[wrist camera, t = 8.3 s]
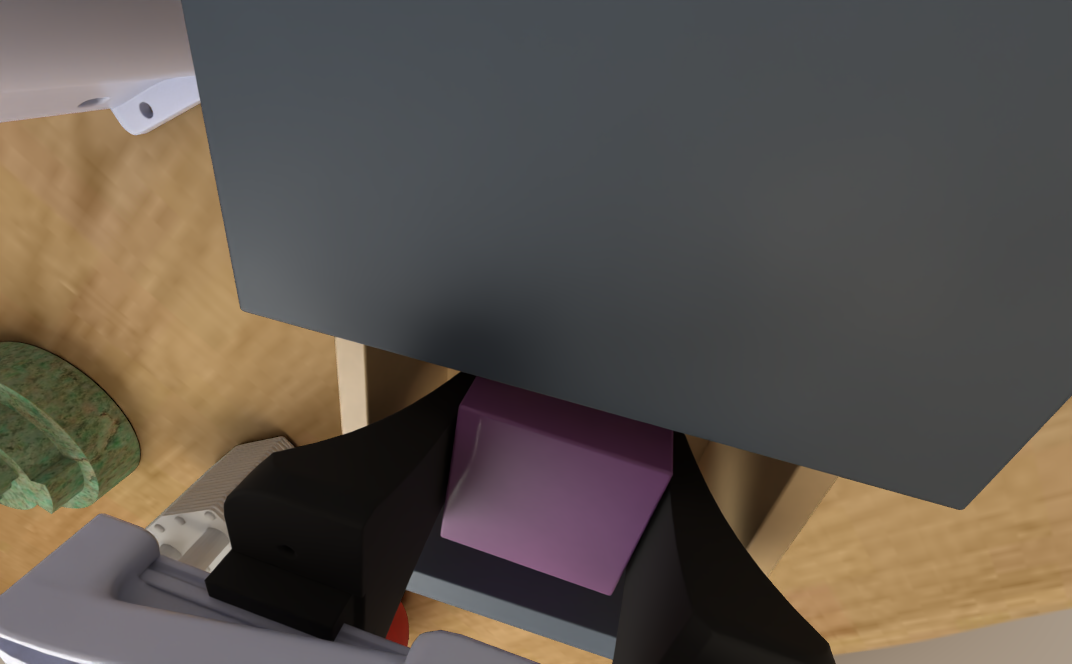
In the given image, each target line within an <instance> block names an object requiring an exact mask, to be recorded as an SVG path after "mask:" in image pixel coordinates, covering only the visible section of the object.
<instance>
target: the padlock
mask: <svg viewBox="0 0 1072 664" xmlns="http://www.w3.org/2000/svg"><path fill="white" fill-rule="evenodd" d="M291 448H295V447H294V446H293V445H292V444H291V443H290V442H289V441H288V440H287V439H286V438H285V437H283V436H280V437H275V438H271V439H266V440H261V441H256V442H251V443H247V444H242V445H237V446H235V447H234V448H233V449H232V450H231V451H229V452H228V453H227V454H226V455H225V456H224V457H222V458H221V459H220V460H219V461H218V462H217V463H215V464H214V465H213V466H212V467H211V468H210V469H209V470H208V471H206V472H205V473H204V474H203V475H202V476H201V477H200V478H199V479H198V480H197V481H196V482H195V483H194V484H192V485H191V486H190V487H189V488H188V489H187V490H186V491H185V492H184V493H183V494H182V495H181V496H179V498H177V499H176V500H175V501H174V502H173V503H172V504H171V505H170V506H169V507H168V508H167V509H165V511H163V512H162V513H161V514H160V515H159V516H158V517H157V518H156V519H155V520H154V521H153V522H151V523H150V524H149V525H148V526H147V527H146V528H145V529H146V530H148V531H149V532H150V533H151V534H153V535H154V536H155V538H156V539H157V541H158V543H159V548H160V554H162V555H164V556H167V557H170V558H172V559H175V560H177V561H180V562H183V563H185V564H188V565H191V566H193V567H196V568H199V569H201V570H204V571H207V572H212V571H213V570H214V569H215V567H216V566H217V565H218V564H219V563H220V562H221V561H222V559H223V558H224V557H225V556H226V555H227V554H228V553H229V551H230V550H231V549H232V548H231V543H230V539H229V535H228V531H227V526H226V522H225V518H224V505H223V504H224V502H225V500H226V497H227V496H228V495H229V494H230V493H231V492H232V491H233V490H234V489H235V488H236V487H237V486H238V485H239V484H240V483H241V482H242V481H243V479H244V478H245V477H246V476H247V475H248V474H249V473H250V472H251V471H252V470H253V469H254V468H255V467H257V466H258V465H259V464H260V463H261V462H262V461H263V460H265V459H266V458H267V457H268V456H269V455H271V454H272V453H273V452H277V451H282V450H287V449H291Z"/></svg>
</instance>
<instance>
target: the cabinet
mask: <svg viewBox="0 0 1072 664" xmlns="http://www.w3.org/2000/svg"><path fill="white" fill-rule="evenodd" d="M181 4H182V9H183V14H184V19H185V25H186V30H187V35H188V40H189V45H190V50H191V56H192V61H193V66H194V71H195V76H196V81H197V87H198V92H199V97H200V102H201V107H202V112H203V118H204V123H205V128H206V133H207V138H208V143H209V149H210V154H211V159H212V164H213V169H214V174H215V180H216V185H217V190H218V195H219V200H220V206H221V211H222V216H223V221H224V226H225V231H226V237H227V242H228V247H229V252H230V257H231V262H232V268H233V273H234V278H235V283H236V288H237V293H238V299H239V304H240V308H241V310H242V311H245V312H248V313H252V314H255V315H259V316H263V317H266V318H270V319H273V320H277V321H281V322H284V323H288V324H291V325H295V326H299V327H302V328H306V329H309V330H313V331H317V332H320V333H324V334H327V335H331V336H335V337H338V338H342V339H345V340H349V341H353V342H356V343H360V344H364V345H367V346H371V347H374V348H378V349H382V350H385V351H389V352H392V353H396V354H400V355H403V356H407V357H410V358H414V359H418V360H421V361H425V362H428V363H432V364H436V365H439V366H443V367H446V368H450V369H454V370H457V371H461V372H464V373H468V374H472V375H475V376H479V377H482V378H486V379H490V380H493V381H497V382H500V383H504V384H508V385H511V386H515V387H518V388H522V389H526V390H529V391H533V392H536V393H540V394H544V395H547V396H551V397H554V398H558V399H562V400H565V401H569V402H572V403H576V404H580V405H583V406H587V407H590V408H594V409H598V410H601V411H605V412H608V413H612V414H616V415H619V416H623V417H626V418H630V419H634V420H637V421H641V422H644V423H648V424H652V425H655V426H659V427H662V428H666V429H670V430H673V431H677V432H680V433H684V434H688V435H691V436H695V437H698V438H702V439H706V440H709V441H713V442H716V443H720V444H724V445H727V446H731V447H734V448H738V449H742V450H745V451H749V452H752V453H756V454H760V455H763V456H767V457H770V458H774V459H778V460H781V461H785V462H788V463H792V464H796V465H799V466H803V467H806V468H810V469H814V470H817V471H821V472H824V473H828V474H832V475H835V476H839V477H843V478H846V479H850V480H853V481H857V482H861V483H864V484H868V485H871V486H875V487H879V488H882V489H886V490H889V491H893V492H897V493H900V494H904V495H907V496H911V497H915V498H918V499H922V500H925V501H929V502H933V503H936V504H940V505H943V506H947V507H951V508H954V509H958V510H962V509H965V507H966V506H967V505H968V504H969V503H970V502H971V501H972V500H973V499H974V498H975V497H976V496H977V495H978V494H979V493H980V492H981V491H982V490H983V489H984V487H985V486H986V485H987V484H988V483H989V482H990V481H991V480H992V479H993V478H994V477H995V476H996V475H997V474H998V473H999V472H1000V471H1001V470H1002V469H1003V467H1004V466H1005V465H1006V464H1007V463H1008V462H1009V461H1010V460H1011V459H1012V458H1013V457H1014V456H1015V455H1016V454H1017V453H1018V452H1019V451H1020V450H1021V449H1022V447H1023V446H1024V445H1025V444H1026V443H1027V442H1028V441H1029V440H1030V439H1031V438H1032V437H1033V436H1034V435H1035V434H1036V433H1037V432H1038V431H1039V430H1040V429H1041V427H1042V426H1043V425H1044V424H1045V423H1046V422H1047V421H1048V420H1049V419H1050V418H1051V417H1052V416H1053V415H1054V414H1055V413H1056V412H1057V411H1058V410H1059V409H1060V407H1061V406H1062V405H1063V404H1064V403H1065V402H1066V401H1067V400H1068V399H1069V398H1070V397H1071V396H1072V0H181Z"/></svg>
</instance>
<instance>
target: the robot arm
mask: <svg viewBox="0 0 1072 664" xmlns="http://www.w3.org/2000/svg"><path fill="white" fill-rule="evenodd" d="M200 103H201V102H200V97H199V92H198V87H197V81H196V76H195V71H194V66H193V61H192V56H191V50H190V45H189V40H188V35H187V30H186V25H185V19H184V14H183V9H182V4H181V0H0V122H8V121H15V120H23V119H31V118H39V117H47V116H55V115H62V114H70V113H78V112H86V111H94V110H101V109H109V108H110V109H111V110H112V112H113V113H114V115H115V116H116V118H117V119H118V121H119V122H120V124H121V125H122V126H123V128H124V129H125V130H126V131H128V132H129V133H131V134H133V135H139V134H145V133H148V132H150V131H152V130H153V129H155V128H157V127H159V126H160V125H162V124H164V123H166V122H168V121H169V120H171V119H173V118H175V117H177V116H178V115H180V114H182V113H184V112H186V111H187V110H189V109H191V108H193V107H194V106H196V105H198V104H200ZM150 107H151V108H152V111H153V113H152V112H151V109H150ZM475 378H476V376H475V375H472V374H468V373H464V372H461V371H460V372H459V373H458V374H456V375H455V376H454V377H452V378H451V379H450V380H448V381H447V382H445V383H444V384H442V385H441V386H440V387H438V388H437V389H435V390H434V391H432V392H431V393H429V394H427V395H426V396H424V397H422V398H421V399H419V400H417V401H416V402H414V403H412V404H411V405H409V406H407V407H405V408H403V409H402V410H400V411H398V412H396V413H394V414H392V415H390V416H388V417H386V418H384V419H381V420H379V421H377V422H374V423H372V424H370V425H367V426H365V427H362V428H360V429H357V430H355V431H352V432H349V433H346V434H343V435H340V436H337V437H334V438H331V439H327V440H324V441H320V442H317V443H313V444H309V445H304V446H300V447H296V448H291V449H287V450H282V451H277V452H273V453H272V454H271V455H269V456H268V457H267V458H266V459H265V460H263V461H262V462H261V463H260V464H259V465H258V466H257V467H255V468H254V469H253V470H252V471H251V472H250V473H249V474H248V475H247V476H246V477H245V478H244V479H243V481H242V482H241V483H240V484H239V485H238V486H237V487H236V488H235V489H234V490H233V491H232V492H231V493H230V494H229V495H228V496H227V497H226V500H225V502H224V504H223V505H224V518H225V522H226V526H227V531H228V535H229V539H230V543H231V548H232V549H231V550H230V551H229V553H228V554H227V555H226V556H225V557H224V558H223V559H222V561H221V562H220V563H219V564H218V565H217V566H216V567H215V569H214V570H213V571H212V572H211V573H209V572H207V571H204V570H201V569H199V568H196V567H193V566H191V565H188V564H185V563H183V562H180V561H177V560H175V559H172V558H170V557H167V556H164V555H162V554H160V548H159V543H158V541H157V539H156V538H155V536H154V535H153V534H151V533H150V532H149V531H148V530H146V529H144V528H142V527H140V526H137V525H134V524H132V523H129V522H126V521H123V520H121V519H118V518H115V517H113V516H110V515H107V514H98V515H97V516H96V517H95V518H93V519H92V520H91V521H90V522H89V523H87V524H86V525H85V526H84V527H82V528H81V529H80V530H79V531H78V532H76V533H75V534H74V535H73V536H72V537H70V538H69V539H68V540H67V541H66V542H64V543H63V544H62V545H61V546H59V547H58V548H57V549H56V550H55V551H53V552H52V553H51V554H50V555H49V556H47V557H46V558H45V559H44V560H43V561H41V562H40V563H39V564H38V565H36V566H35V567H34V568H33V569H32V570H30V571H29V572H28V573H27V574H26V575H24V576H23V577H22V578H21V579H20V580H18V581H17V582H16V583H15V584H13V585H12V586H11V587H10V588H9V589H7V590H6V591H5V592H4V593H3V594H1V595H0V657H1V659H2V660H3V661H4V662H5V663H6V664H540V663H537V662H534V661H532V660H529V659H526V658H524V657H521V656H518V655H515V654H513V653H510V652H507V651H505V650H502V649H499V648H497V647H494V646H491V645H488V644H486V643H483V642H480V641H478V640H475V639H472V638H469V637H467V636H464V635H461V634H457V633H452V632H448V631H443V630H438V631H431V632H425V633H422V634H420V635H419V636H418V637H417V639H416V640H415V641H414V643H413V644H412V646H411V648H409V647H406V646H403V645H401V644H398V643H395V642H393V641H390V640H387V639H385V638H386V636H387V633H388V631H389V629H390V626H391V624H392V621H393V619H394V616H395V614H396V611H397V609H398V607H399V604H400V602H401V599H402V597H403V595H404V592H405V590H406V588H407V585H408V583H409V580H410V578H411V576H412V573H413V571H414V569H415V566H416V564H417V562H418V560H419V557H420V555H421V553H422V550H423V548H424V546H425V543H426V541H427V539H428V537H429V534H430V532H431V530H432V528H433V526H434V523H435V521H436V519H437V517H438V515H439V513H440V511H441V509H442V507H443V505H444V503H445V498H446V492H447V485H448V478H449V471H450V464H451V457H452V450H453V444H454V437H455V430H456V423H457V416H458V409H459V405H460V403H461V402H462V400H463V398H464V397H465V395H466V393H467V392H468V390H469V388H470V386H471V385H472V383H473V381H474V380H475ZM612 664H836V663H835V660H834V658H833V655H832V652H831V649H830V646H829V643H828V642H827V641H826V640H825V639H824V638H823V637H822V636H821V635H820V634H819V633H818V632H817V631H816V630H815V629H814V628H813V627H812V626H811V625H810V624H809V623H808V622H807V621H806V620H805V619H804V618H803V617H802V616H801V615H800V614H799V613H798V612H797V611H796V610H795V609H794V607H793V606H792V605H791V604H790V603H789V602H788V601H787V600H786V598H785V597H784V596H783V595H782V594H781V593H780V592H779V590H778V589H777V588H776V587H775V586H774V585H773V584H772V582H771V581H770V580H769V579H768V577H767V576H766V575H765V574H764V573H763V571H762V570H761V569H760V567H759V566H758V565H757V563H756V562H755V561H754V559H753V558H752V557H751V555H750V554H749V553H748V551H747V550H746V549H745V547H744V546H743V545H742V543H741V542H740V540H739V539H738V537H737V536H736V534H735V533H734V531H733V530H732V528H731V527H730V525H729V523H728V522H727V520H726V519H725V517H724V515H723V514H722V512H721V510H720V508H719V507H718V505H717V503H716V501H715V499H714V497H713V496H712V494H711V492H710V490H709V488H708V486H707V484H706V482H705V480H704V477H703V475H702V473H701V471H700V469H699V467H698V464H697V462H696V460H695V458H694V455H693V453H692V450H691V448H690V445H689V443H688V440H687V438H686V435H685V434H684V433H680V432H677V431H673V475H672V477H671V479H670V481H669V483H668V485H667V487H666V489H665V491H664V493H663V495H662V497H661V499H660V501H659V503H658V505H657V507H656V509H655V511H654V513H653V515H652V517H651V519H650V521H649V523H648V525H647V527H646V529H645V531H644V532H643V534H642V536H641V538H640V540H639V542H638V544H637V546H636V548H635V550H634V552H633V554H632V556H631V558H630V560H629V562H628V564H627V566H626V575H625V585H624V592H623V598H622V605H621V612H620V619H619V625H618V632H617V638H616V644H615V651H614V657H613V663H612Z"/></svg>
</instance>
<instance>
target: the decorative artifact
mask: <svg viewBox="0 0 1072 664" xmlns="http://www.w3.org/2000/svg"><path fill="white" fill-rule="evenodd" d="M139 461H140V448H139V443H138V440H137V437H136V435H135V433H134V431H133V429H132V427H131V425H130V423H129V422H128V420H127V418H126V417H125V416H124V414H123V413H122V411H121V410H120V409H119V408H118V406H117V405H116V404H115V403H114V402H113V400H112V399H111V398H110V397H109V396H108V395H107V394H106V393H105V392H104V391H103V390H102V389H101V388H100V387H99V386H98V385H97V384H95V383H94V382H93V381H92V380H91V379H90V378H88V377H87V376H86V375H85V374H83V373H82V372H81V371H79V370H78V369H76V368H75V367H74V366H72V365H70V364H69V363H67V362H66V361H64V360H62V359H61V358H59V357H57V356H55V355H53V354H51V353H49V352H47V351H45V350H43V349H40V348H37V347H35V346H32V345H28V344H24V343H19V342H1V343H0V504H2V505H5V506H8V507H11V508H15V509H21V510H27V509H31V508H33V507H35V506H36V505H39V506H40V507H42V508H43V509H45V510H46V511H48V512H49V513H51V514H52V513H53V512H55V511H56V510H57V509H59V508H60V507H66V508H84V507H88V506H90V505H92V504H93V503H94V502H96V501H97V500H98V499H99V498H101V497H102V496H103V495H104V494H106V493H107V492H108V491H109V490H111V489H112V488H113V487H114V486H116V485H117V484H118V483H119V482H120V481H122V480H123V479H124V478H125V477H127V476H128V475H129V474H130V473H132V472H133V471H134V470H135V469H136V468H137V466H138V464H139Z"/></svg>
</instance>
